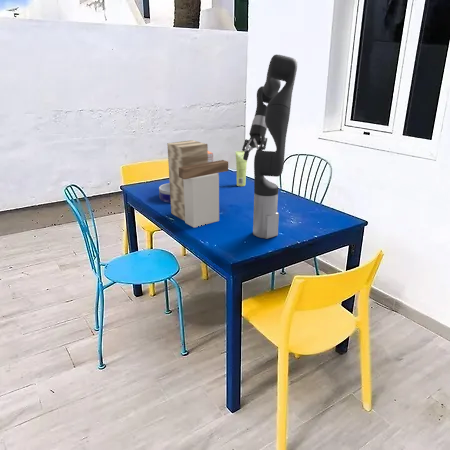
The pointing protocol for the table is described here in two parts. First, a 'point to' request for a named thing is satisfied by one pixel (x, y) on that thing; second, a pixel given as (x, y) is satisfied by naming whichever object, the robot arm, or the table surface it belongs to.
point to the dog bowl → (165, 192)
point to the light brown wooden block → (203, 169)
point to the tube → (241, 168)
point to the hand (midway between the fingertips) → (250, 159)
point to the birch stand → (180, 157)
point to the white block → (201, 200)
